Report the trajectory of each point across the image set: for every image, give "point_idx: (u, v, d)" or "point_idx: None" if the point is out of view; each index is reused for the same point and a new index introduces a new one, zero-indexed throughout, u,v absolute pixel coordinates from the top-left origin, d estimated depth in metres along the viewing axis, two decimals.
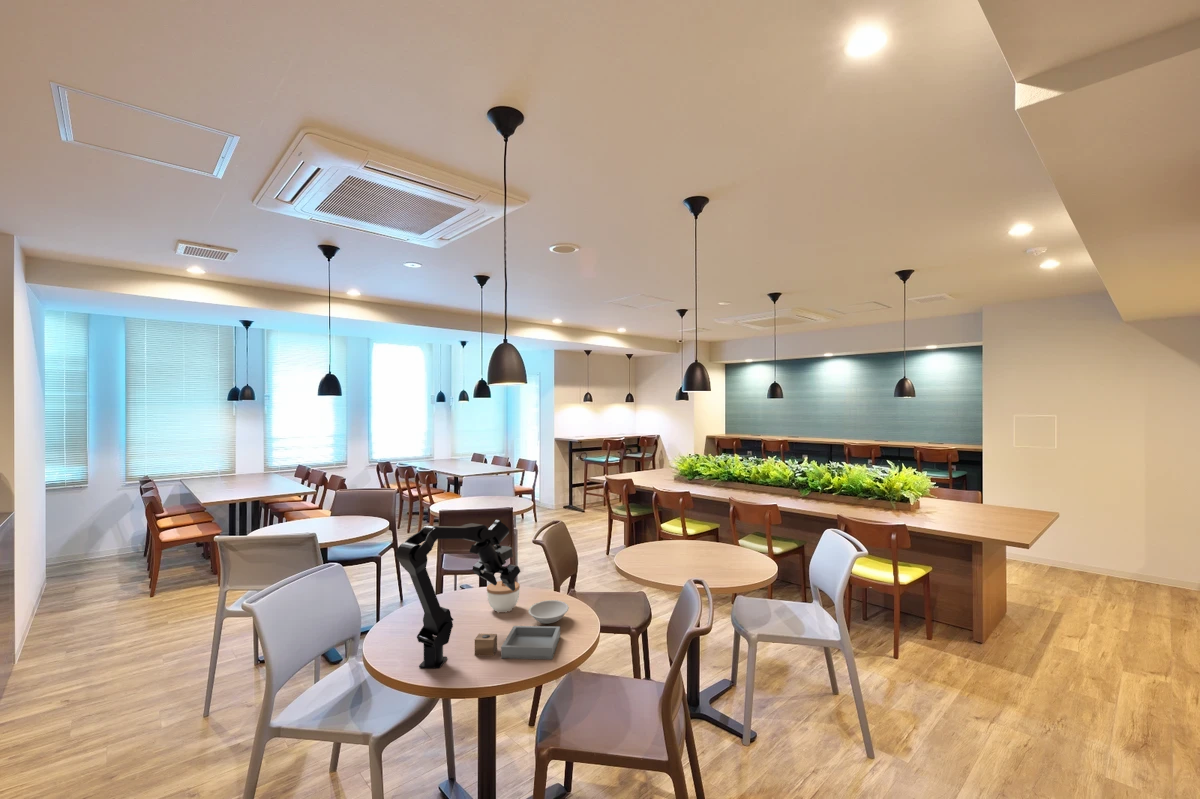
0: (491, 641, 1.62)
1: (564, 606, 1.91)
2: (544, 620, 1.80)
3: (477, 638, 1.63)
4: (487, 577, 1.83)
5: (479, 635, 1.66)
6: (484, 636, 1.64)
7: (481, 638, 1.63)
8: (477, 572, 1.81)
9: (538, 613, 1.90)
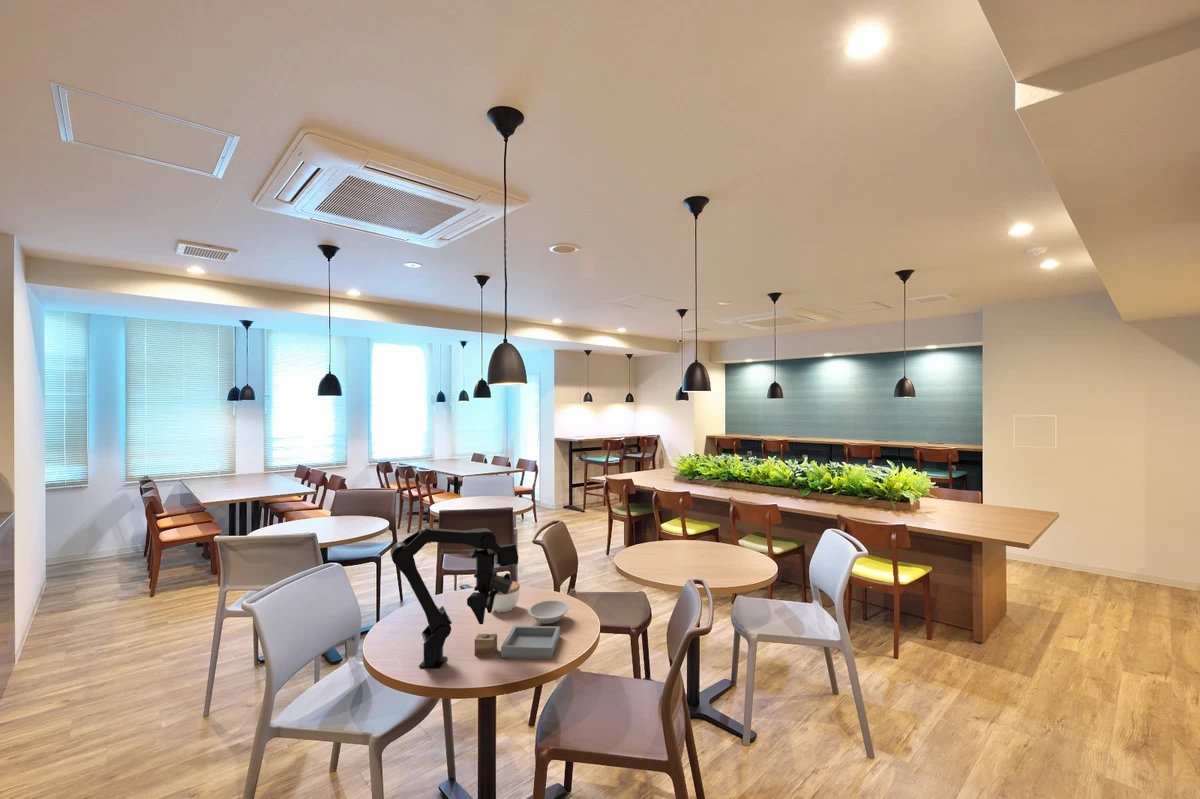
0: (491, 641, 1.62)
1: (564, 606, 1.91)
2: (544, 620, 1.80)
3: (477, 638, 1.63)
4: None
5: (479, 635, 1.66)
6: (484, 636, 1.64)
7: (481, 638, 1.63)
8: None
9: (538, 613, 1.90)
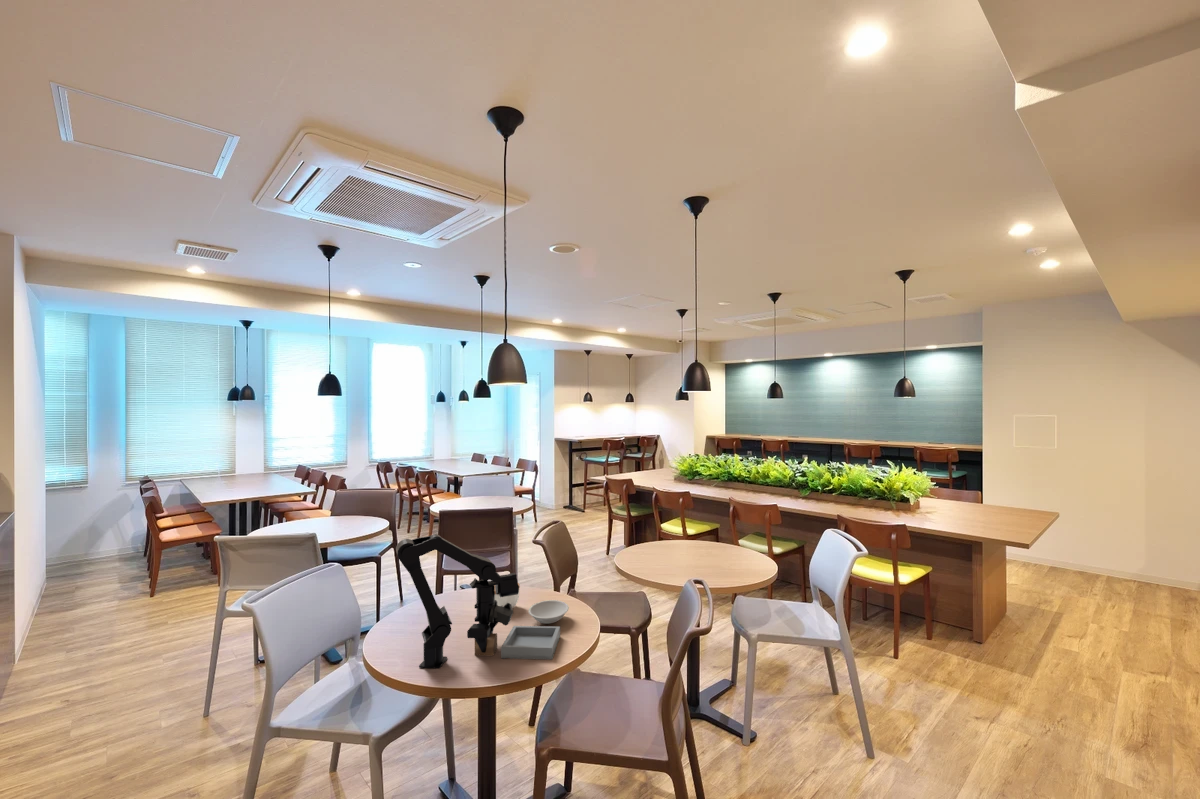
0: (491, 641, 1.62)
1: (564, 606, 1.91)
2: (544, 620, 1.80)
3: None
4: None
5: None
6: None
7: None
8: None
9: (538, 613, 1.90)
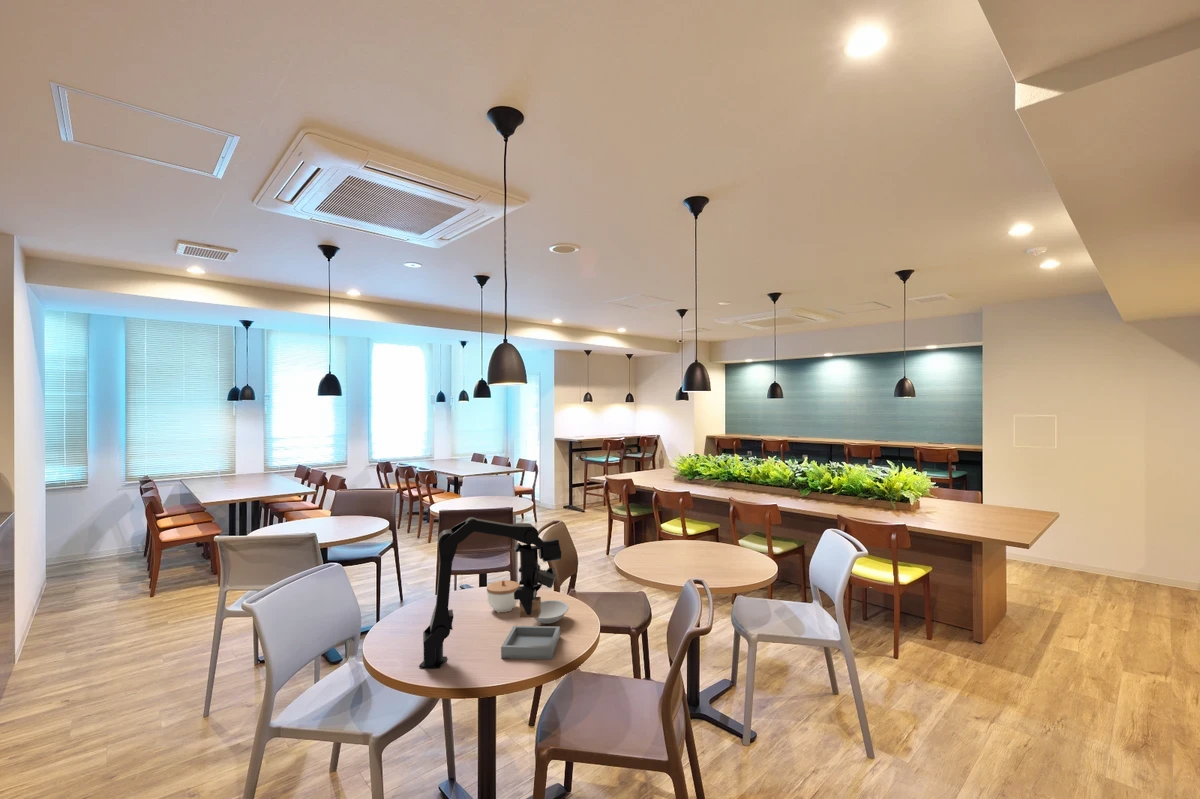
0: (536, 603, 1.65)
1: (564, 606, 1.91)
2: (544, 620, 1.80)
3: None
4: None
5: None
6: None
7: None
8: None
9: None
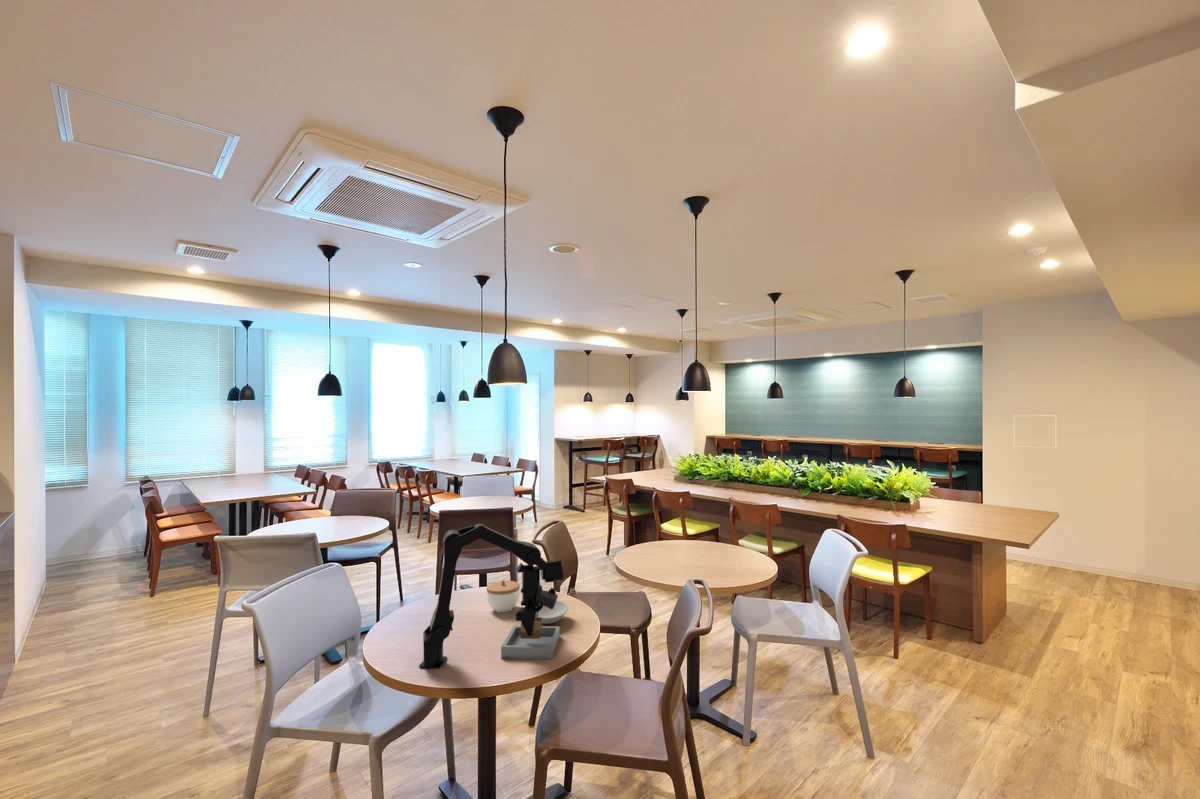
0: (537, 624, 1.65)
1: (564, 606, 1.91)
2: (544, 620, 1.80)
3: None
4: None
5: None
6: None
7: None
8: None
9: (538, 613, 1.90)
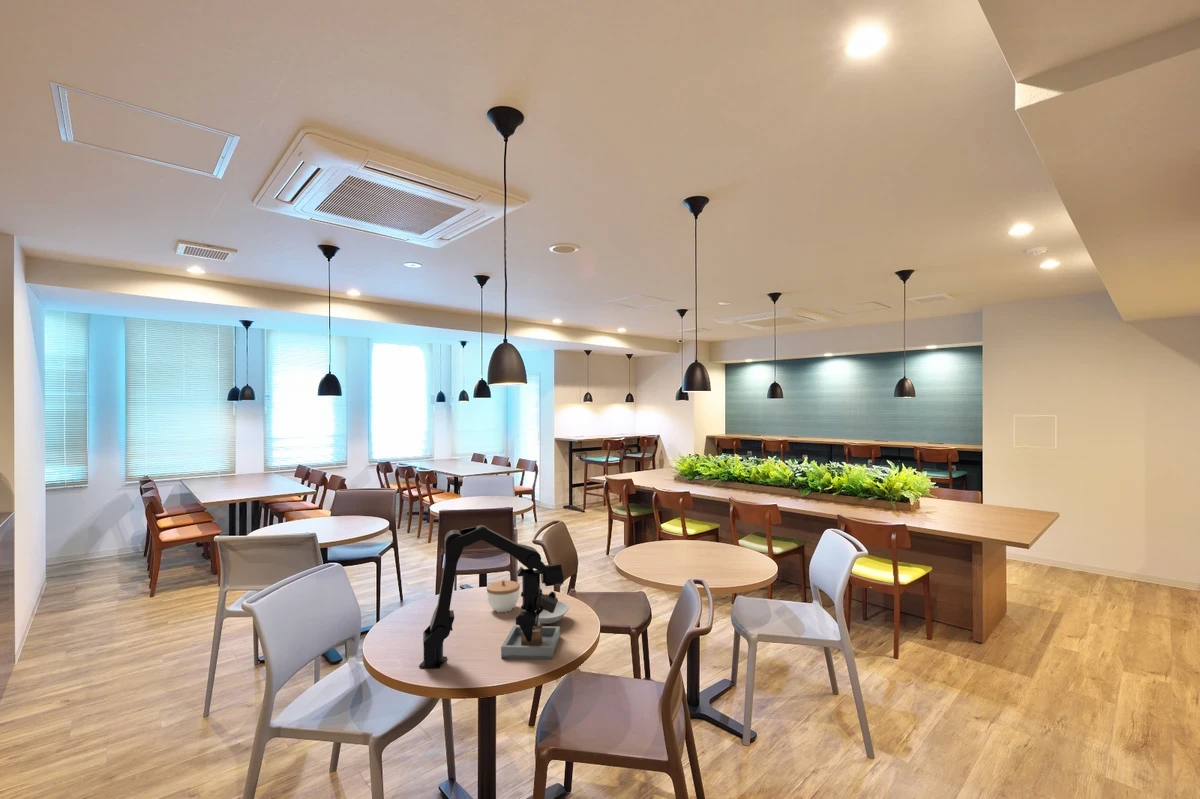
0: (538, 633, 1.65)
1: (564, 606, 1.91)
2: (544, 620, 1.80)
3: None
4: None
5: None
6: None
7: None
8: None
9: None
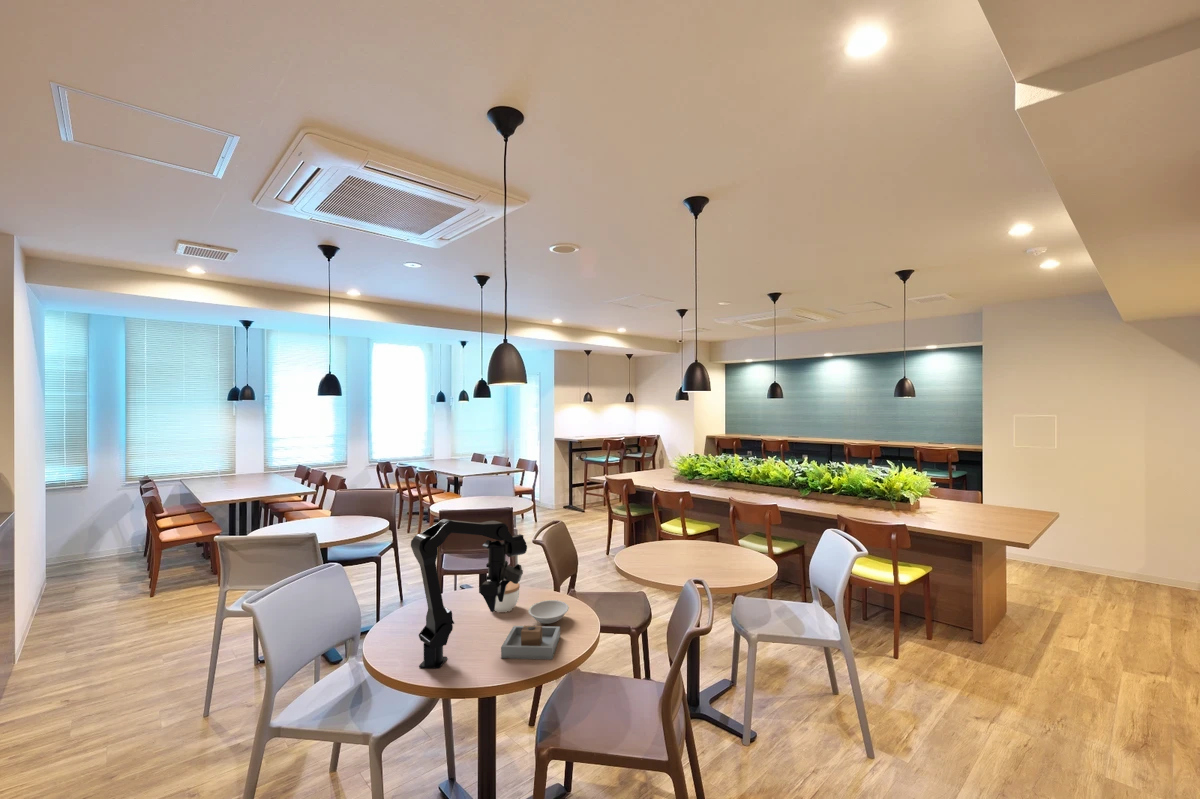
0: (538, 633, 1.65)
1: (564, 606, 1.91)
2: (544, 620, 1.80)
3: (523, 630, 1.66)
4: None
5: (525, 627, 1.69)
6: (530, 628, 1.67)
7: (527, 630, 1.66)
8: None
9: (538, 613, 1.90)
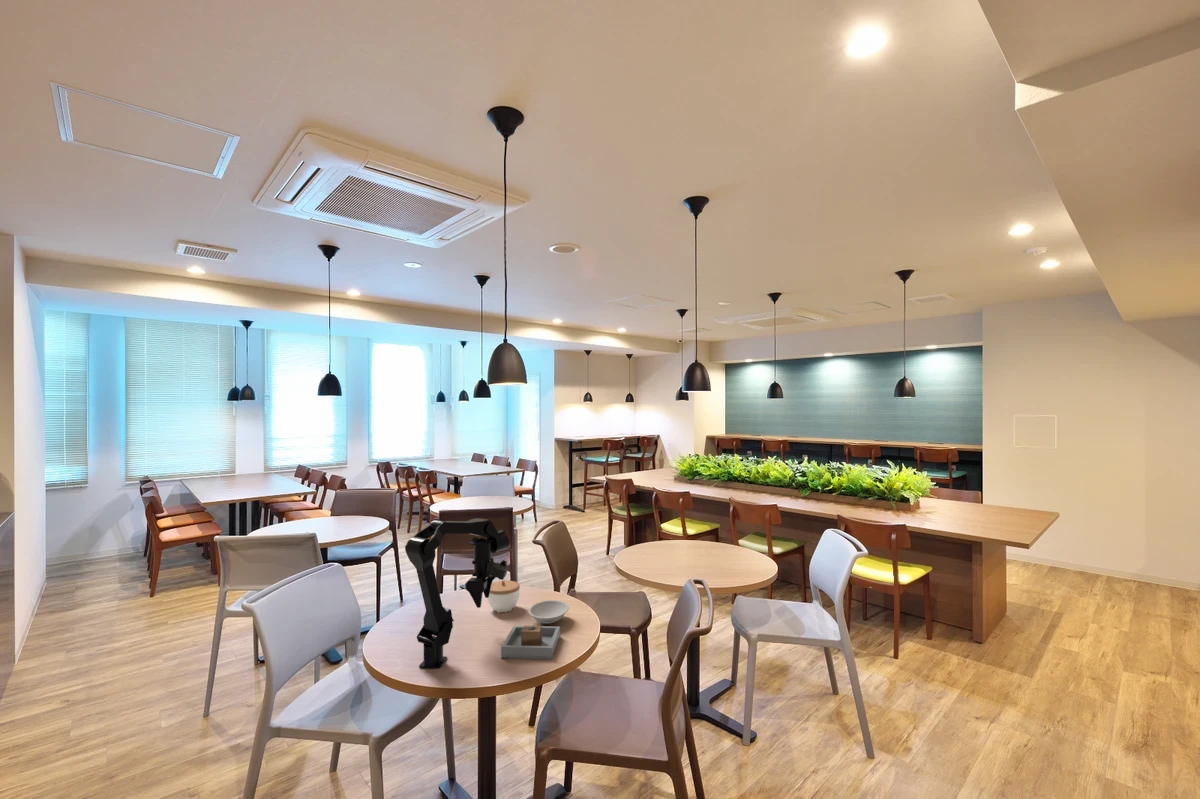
0: (538, 633, 1.65)
1: (564, 606, 1.91)
2: (544, 620, 1.80)
3: (523, 630, 1.66)
4: None
5: (525, 627, 1.69)
6: (530, 628, 1.67)
7: (527, 630, 1.66)
8: None
9: (538, 613, 1.90)
